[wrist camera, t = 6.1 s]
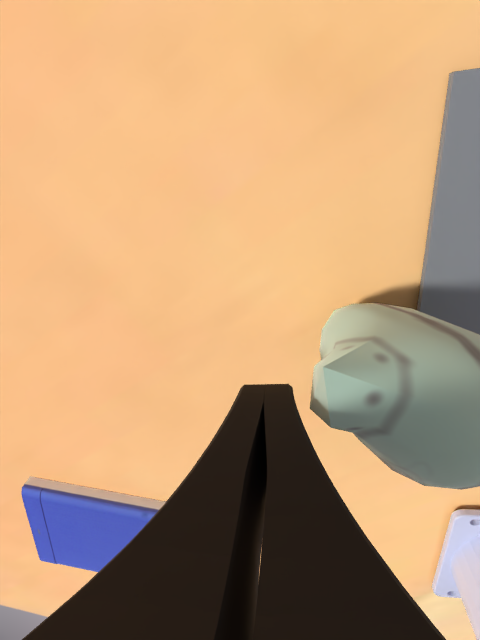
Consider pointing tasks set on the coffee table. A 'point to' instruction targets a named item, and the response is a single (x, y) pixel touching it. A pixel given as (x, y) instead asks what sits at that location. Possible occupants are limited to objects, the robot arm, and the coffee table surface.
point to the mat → (455, 211)
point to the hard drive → (83, 521)
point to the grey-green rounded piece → (403, 390)
